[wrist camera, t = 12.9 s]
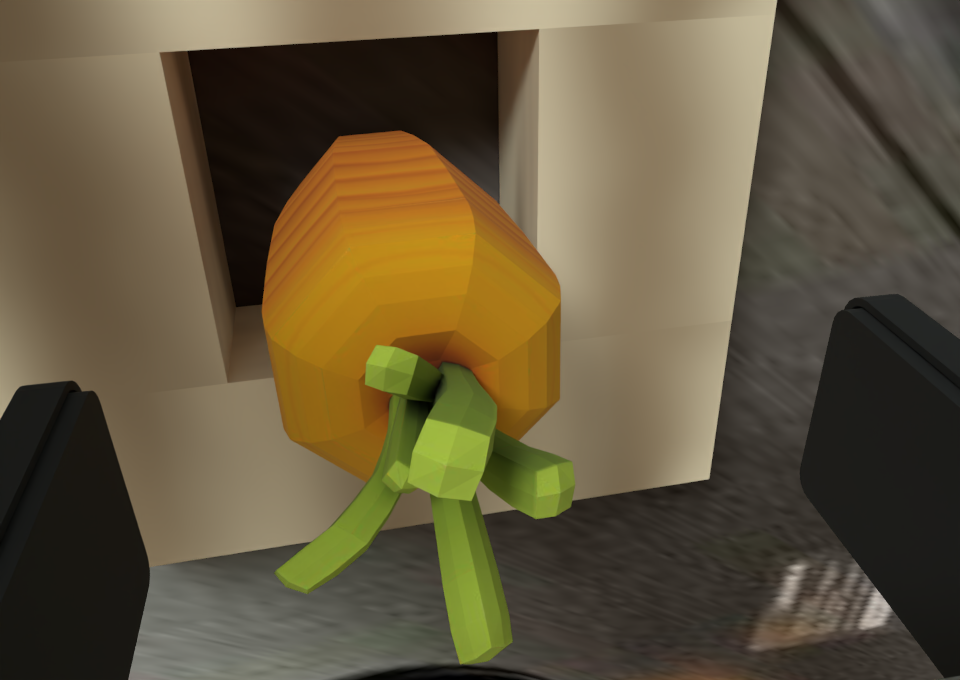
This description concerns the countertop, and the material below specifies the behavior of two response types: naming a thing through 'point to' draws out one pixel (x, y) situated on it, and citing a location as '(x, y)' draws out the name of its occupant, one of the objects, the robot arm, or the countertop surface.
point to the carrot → (415, 361)
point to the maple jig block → (240, 330)
